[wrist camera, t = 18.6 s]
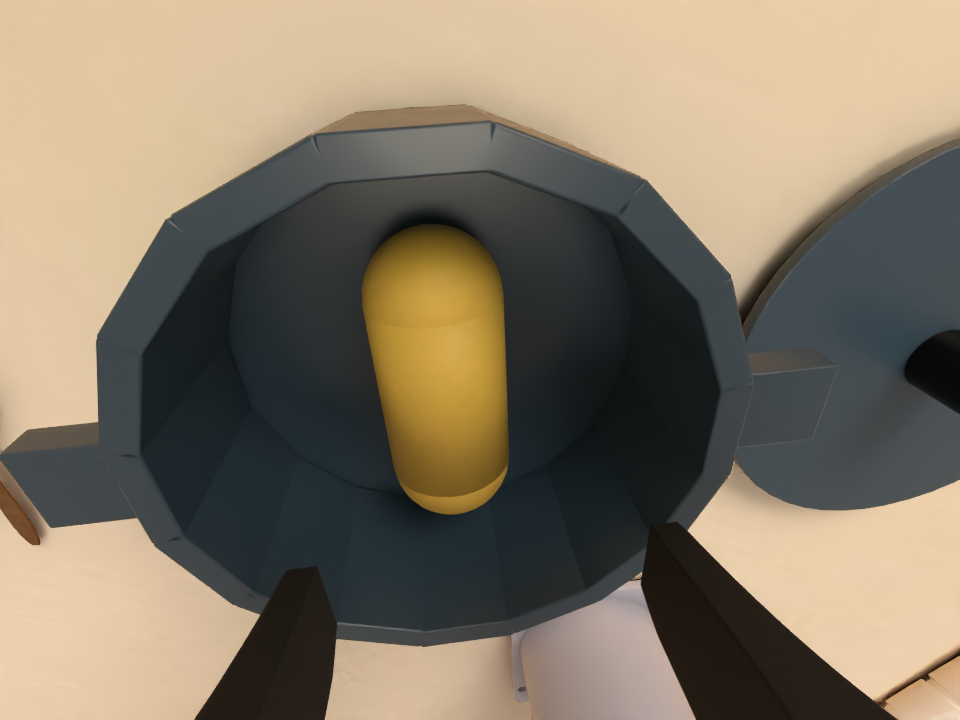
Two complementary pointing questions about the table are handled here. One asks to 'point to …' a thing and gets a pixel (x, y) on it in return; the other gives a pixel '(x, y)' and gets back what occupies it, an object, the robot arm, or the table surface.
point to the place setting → (17, 517)
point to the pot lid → (872, 343)
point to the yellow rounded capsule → (440, 364)
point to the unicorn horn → (930, 696)
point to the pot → (355, 395)
